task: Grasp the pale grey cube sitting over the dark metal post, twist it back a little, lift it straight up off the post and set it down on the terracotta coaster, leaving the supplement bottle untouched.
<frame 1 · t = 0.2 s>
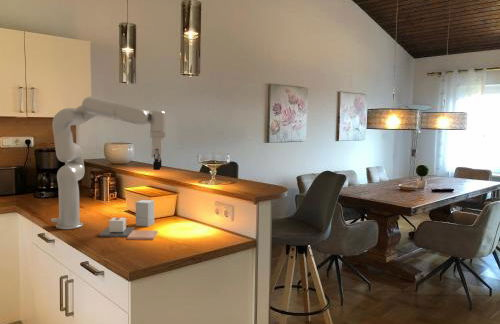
hand: (157, 168, 212), 31 cm above the worktop, tool pointing down, fingers open, 9 cm apart
post base: (117, 232, 203), on the worktop
pale grey cube: (117, 224, 203), point 4 cm above the worktop, touching post base
coaster: (142, 236, 199), on the worktop
supplement box: (145, 224, 221), on the worktop
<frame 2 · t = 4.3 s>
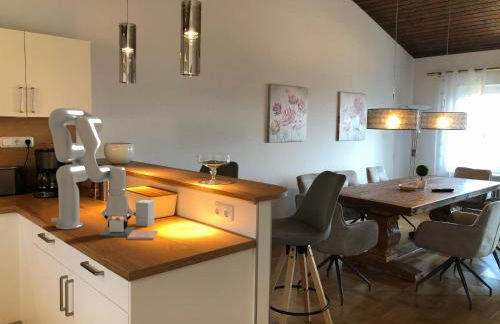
hand: (117, 228, 203), 2 cm above the worktop, tool pointing down, fingers closed on pale grey cube, 6 cm apart
pale grey cube: (117, 224, 203), point 4 cm above the worktop, touching gripper, post base
everything else where it was.
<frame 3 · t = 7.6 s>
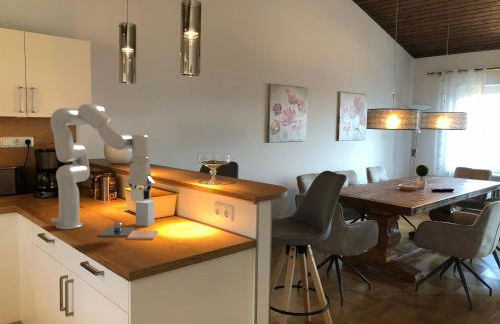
hand: (140, 197, 198), 18 cm above the worktop, tool pointing down, fingers closed on pale grey cube, 6 cm apart
pale grey cube: (140, 193, 198), point 20 cm above the worktop, touching gripper
everything else where it was.
when the fingers open (3 cm above the worktop, at t = 11.4 s): pale grey cube drops 1 cm, resting on coaster.
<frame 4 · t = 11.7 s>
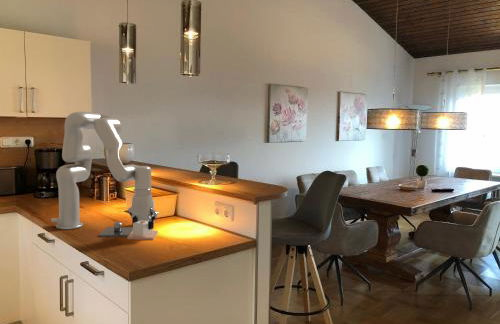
hand: (142, 227, 199), 4 cm above the worktop, tool pointing down, fingers open, 9 cm apart
pale grey cube: (142, 227, 199), on the coaster, point 4 cm above the worktop
everything else where it was.
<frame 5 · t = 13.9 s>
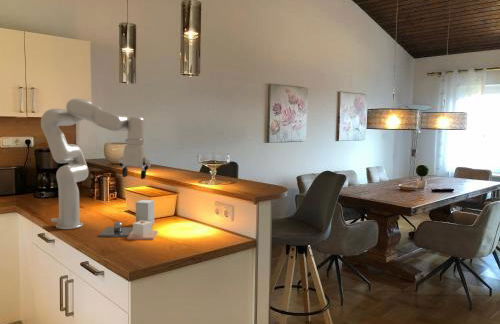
hand: (133, 177, 202), 27 cm above the worktop, tool pointing down, fingers open, 9 cm apart
nothing on the worktop moved.
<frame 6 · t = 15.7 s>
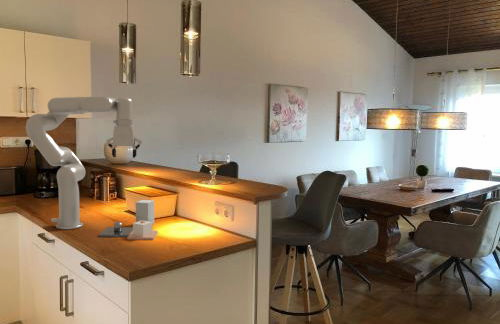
hand: (124, 157, 209), 36 cm above the worktop, tool pointing down, fingers open, 9 cm apart
nothing on the worktop moved.
at the end: pale grey cube 0.1 cm from the coaster (horizontally); the gripper is holding nothing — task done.
